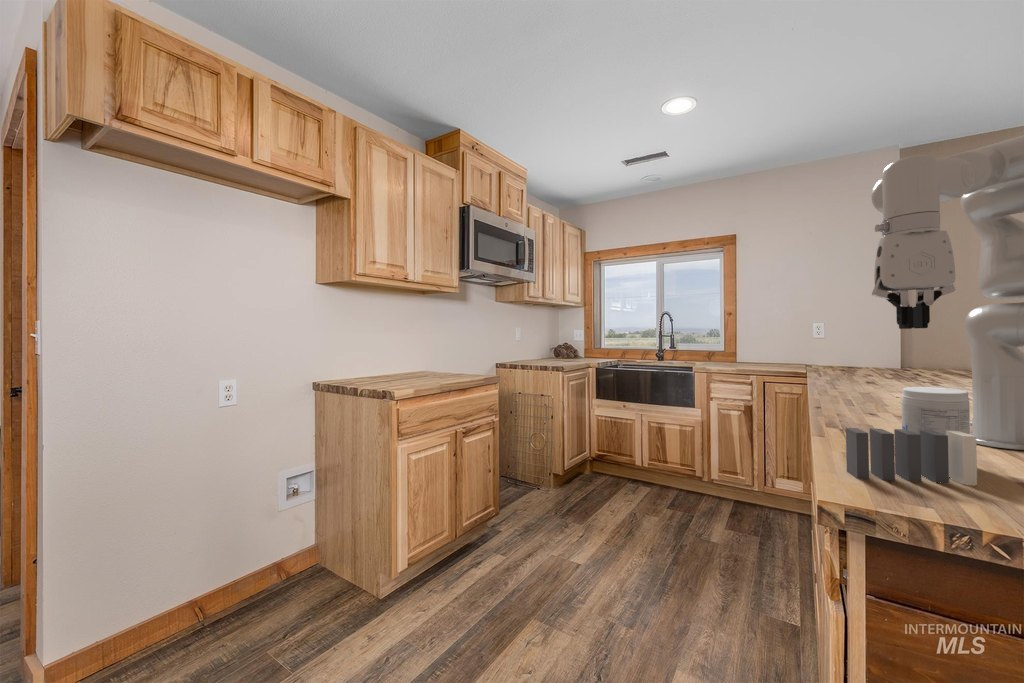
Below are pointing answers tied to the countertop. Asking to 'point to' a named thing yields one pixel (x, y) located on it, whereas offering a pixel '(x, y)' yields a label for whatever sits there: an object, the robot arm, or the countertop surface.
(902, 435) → the domino
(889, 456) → the domino
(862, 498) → the countertop surface
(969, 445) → the domino
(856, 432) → the domino
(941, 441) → the domino
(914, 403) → the supplement tub
